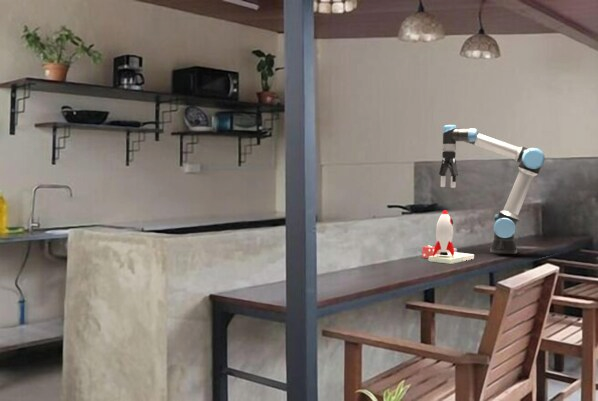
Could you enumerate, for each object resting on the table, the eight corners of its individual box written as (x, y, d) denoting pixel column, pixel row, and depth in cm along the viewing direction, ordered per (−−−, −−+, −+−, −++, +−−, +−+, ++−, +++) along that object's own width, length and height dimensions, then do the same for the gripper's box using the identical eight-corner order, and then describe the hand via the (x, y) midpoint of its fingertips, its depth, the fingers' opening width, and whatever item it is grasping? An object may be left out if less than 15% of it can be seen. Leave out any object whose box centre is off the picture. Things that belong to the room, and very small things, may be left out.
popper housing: (438, 253, 375) (438, 246, 375) (456, 255, 367) (456, 248, 367) (427, 255, 366) (427, 248, 366) (446, 257, 358) (446, 250, 358)
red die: (427, 256, 361) (428, 244, 360) (438, 257, 356) (438, 246, 356) (421, 257, 356) (421, 245, 355) (432, 258, 351) (432, 247, 351)
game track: (452, 256, 363) (452, 252, 363) (474, 259, 354) (474, 254, 354) (428, 261, 343) (428, 256, 343) (450, 264, 334) (450, 259, 334)
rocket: (453, 258, 337) (455, 211, 336) (433, 257, 340) (434, 210, 339) (454, 255, 348) (455, 209, 347) (434, 254, 351) (435, 209, 350)
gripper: (434, 151, 389) (433, 186, 390) (452, 150, 365) (451, 187, 366) (445, 151, 391) (444, 186, 392) (464, 151, 366) (463, 188, 368)
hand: (447, 187), depth 379 cm, fingers open, 13 cm apart
